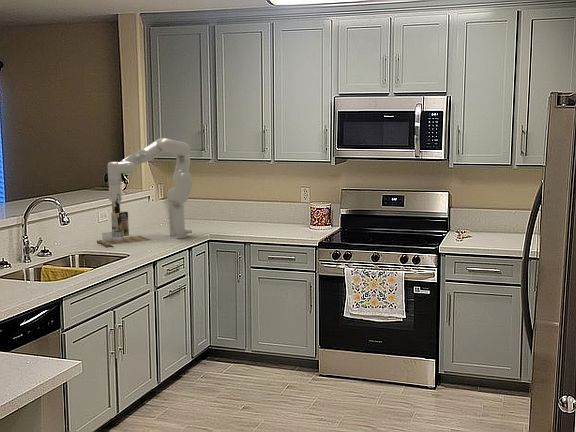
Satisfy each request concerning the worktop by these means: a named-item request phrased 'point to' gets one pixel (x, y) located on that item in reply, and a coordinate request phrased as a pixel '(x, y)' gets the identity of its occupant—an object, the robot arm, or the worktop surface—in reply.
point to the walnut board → (126, 240)
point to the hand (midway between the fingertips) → (116, 212)
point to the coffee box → (121, 222)
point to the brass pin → (116, 215)
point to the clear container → (113, 236)
